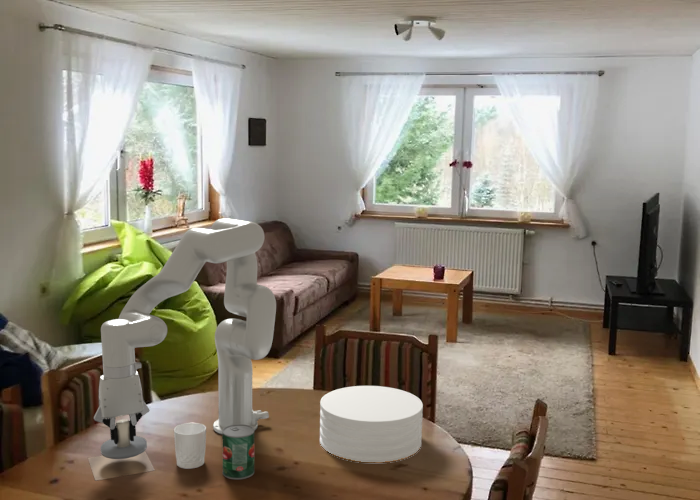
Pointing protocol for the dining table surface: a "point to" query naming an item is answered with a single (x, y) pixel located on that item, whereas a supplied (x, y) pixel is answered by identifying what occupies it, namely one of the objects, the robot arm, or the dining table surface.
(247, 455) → the canned tomato
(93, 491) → the dining table surface
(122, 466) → the cork mat
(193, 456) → the white cup
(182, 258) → the robot arm
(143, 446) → the lid
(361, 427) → the plate stack
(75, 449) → the dining table surface
